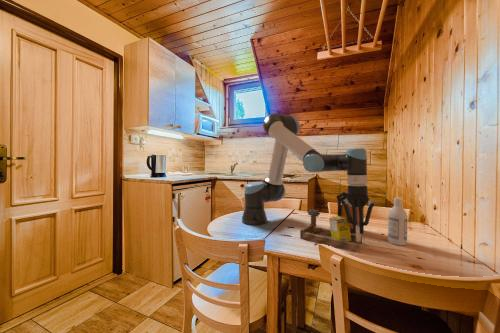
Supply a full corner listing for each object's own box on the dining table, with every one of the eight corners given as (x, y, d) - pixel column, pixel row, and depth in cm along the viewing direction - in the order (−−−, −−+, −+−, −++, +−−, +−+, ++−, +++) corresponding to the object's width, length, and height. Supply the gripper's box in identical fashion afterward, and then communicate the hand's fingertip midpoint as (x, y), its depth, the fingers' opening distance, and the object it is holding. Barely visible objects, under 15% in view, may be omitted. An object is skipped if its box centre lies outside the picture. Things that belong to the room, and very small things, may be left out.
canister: (361, 233, 107) (362, 193, 106) (338, 232, 109) (338, 193, 109) (356, 228, 116) (356, 191, 115) (334, 227, 118) (335, 190, 117)
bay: (295, 237, 103) (295, 213, 103) (308, 229, 115) (309, 208, 114) (355, 252, 86) (355, 224, 86) (363, 240, 98) (364, 216, 97)
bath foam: (402, 240, 98) (403, 197, 97) (410, 246, 91) (411, 199, 91) (385, 239, 100) (386, 196, 99) (391, 245, 93) (392, 199, 92)
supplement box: (351, 243, 93) (348, 217, 94) (339, 245, 92) (336, 219, 92) (343, 239, 99) (340, 215, 99) (331, 241, 97) (328, 217, 98)
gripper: (338, 185, 92) (340, 240, 92) (372, 186, 83) (374, 246, 84) (343, 183, 98) (345, 235, 98) (376, 184, 89) (377, 241, 89)
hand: (358, 240), depth 91 cm, fingers closed
